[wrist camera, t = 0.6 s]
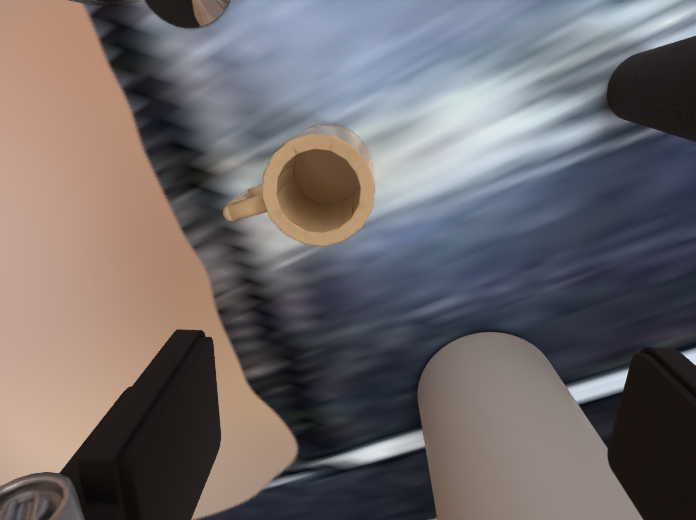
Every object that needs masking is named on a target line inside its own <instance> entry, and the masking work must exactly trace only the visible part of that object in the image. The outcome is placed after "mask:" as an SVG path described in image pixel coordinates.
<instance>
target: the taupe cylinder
mask: <svg viewBox="0 0 696 520" xmlns="http://www.w3.org/2000/svg"><path fill="white" fill-rule="evenodd" d="M418 405H419V411H420V417H421V423H422V429H423V435H424V441H425V447H426V453H427V459H428V465H429V471H430V477H431V483H432V489H433V495H434V501H435V507H436V513H437V519H438V520H643V519H642V517H641V515H640V514H639V512H638V511H637V509H636V508H635V506H634V504H633V503H632V501H631V500H630V498H629V497H628V495H627V494H626V492H625V490H624V489H623V487H622V486H621V484H620V483H619V481H618V479H617V478H616V476H615V475H614V473H613V472H612V470H611V468H610V466H609V463H608V458H607V452H608V449H607V447H606V446H605V444H604V443H603V441H602V440H601V438H600V437H599V435H598V434H597V432H596V431H595V429H594V428H593V426H592V425H591V423H590V422H589V420H588V419H587V417H586V416H585V414H584V413H583V411H582V410H581V408H580V407H579V405H578V404H577V403H576V401H575V400H574V398H573V397H572V395H571V394H570V392H569V391H568V389H567V388H566V386H565V385H564V383H563V382H562V380H561V379H560V377H559V376H558V374H557V373H556V371H555V370H554V368H553V367H552V365H551V364H550V362H549V361H548V359H547V358H546V357H545V356H544V354H543V353H542V352H541V351H540V350H539V349H537V348H536V347H535V346H534V345H532V344H531V343H529V342H527V341H526V340H524V339H522V338H519V337H516V336H513V335H510V334H506V333H499V332H483V333H476V334H471V335H467V336H464V337H461V338H459V339H457V340H455V341H453V342H451V343H449V344H448V345H446V346H445V347H443V348H442V349H441V350H439V351H438V352H437V353H436V354H435V355H434V356H433V357H432V358H431V360H430V361H429V362H428V364H427V365H426V367H425V369H424V370H423V373H422V375H421V378H420V381H419V385H418Z"/></svg>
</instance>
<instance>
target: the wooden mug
mask: <svg viewBox="0 0 696 520" xmlns="http://www.w3.org/2000/svg"><path fill="white" fill-rule="evenodd" d="M374 193H375V182H374V171H373V164H372V161H371V156H370V153H369V151H368V149H367V147H366V145H365V144H364V142H363V141H362V140H361V139H360V138H359V137H358V136H357V135H356V134H355V133H353V132H352V131H350V130H348V129H346V128H344V127H341V126H338V125H332V124H324V125H318V126H314V127H312V128H309V129H306V130H304V131H303V132H301V133H300V134H298V135H297V136H295V137H294V138H292V139H291V140H289V141H288V142H287V143H286V144H285V145H283V146H282V147H281V148H280V149H279V150H278V151H276V152H275V153H274V154H273V156H272V157H271V159H270V161H269V163H268V166H267V168H266V170H265V172H264V175H263V185H260V186H257V187H253V188H250V189H246V190H244V191H243V192H242V193H241V194H239V195H238V196H237V197H236V198H235V199H233V200H232V201H231V202H230V203H229V204H227V205H226V206H225V207H224V209H223V215H224V217H225V219H227V220H228V221H237V220H240V219H244V218H247V217H251V216H254V215H258V214H261V213H264V212H268V214H269V217H270V219H271V220H272V221H273V222H274V223H275V224H276V226H277V227H278V228H279V229H280V230H281V231H282V232H283V233H284V234H285V235H287V236H289V237H291V238H293V239H295V240H297V241H299V242H301V243H304V244H310V245H319V246H324V245H325V246H327V245H330V244H334V243H338V242H341V241H344V240H346V239H347V238H349V237H350V236H351V235H353V234H354V233H355V232H357V231H358V230H359V229H361V227H362V226H363V225H364V223H365V221H366V219H367V218H368V216H369V214H370V213H371V211H372V208H373V201H374Z"/></svg>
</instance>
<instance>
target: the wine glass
mask: <svg viewBox="0 0 696 520" xmlns="http://www.w3.org/2000/svg"><path fill="white" fill-rule="evenodd" d="M70 1H75V2H79V3H84V4H89V5H94V6H125V5H129V4H134V3H139V2H142V1H144V0H70ZM145 1H146V2H147V4H148V6H149V7H150V8H151V9H152V10H153V11H154V13H156V14H157V15H158V16H159V17H160V18H161V19H163V20H165V21H166V22H168V23H169V24H172V25H175V26H177V27H182V28H199V27H203V26H206V25H208V24H210V23H212V22H213V21H215V20H216V19H217V18H218V17H219V16H220V15H221V14H222V13H223V12H224V11H225V9H226V8H227V6H228V4H229V2H230V0H145Z"/></svg>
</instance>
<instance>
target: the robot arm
mask: <svg viewBox="0 0 696 520" xmlns="http://www.w3.org/2000/svg"><path fill="white" fill-rule="evenodd" d="M214 359H215V357H214V345H213V340H212V338H211V337H205V334H204V332H203V331H202V330H176V331H175V332H174V333H173V334H172V336H171V337H170V338H169V339H168V341H167V342H166V343H165V345H164V346H163V347H162V349H161V350H160V351H159V353H158V354H157V355H156V356H155V358H154V359H153V360H152V361H151V363H150V364H149V365H148V366H147V368H146V369H145V370H144V372H143V373H142V374H141V375H140V377H139V378H138V379H137V381H136V382H135V383H134V385H133V386H132V387H128V388H127V389H126V390H125V391H124V392H123V393H122V395H121V396H120V397H119V398H118V400H117V401H116V402H115V403H114V405H113V406H112V407H111V408H110V410H109V411H108V412H107V414H106V415H105V416H104V417H103V419H102V420H101V421H100V422H99V424H98V425H97V426H96V428H95V429H94V430H93V431H92V433H91V434H90V435H89V436H88V438H87V439H86V440H85V441H84V443H83V444H82V445H81V447H80V448H79V449H78V450H77V452H76V453H75V454H74V455H73V457H72V458H71V459H70V460H69V462H68V463H67V464H66V466H65V467H64V468H63V469H62V471H61V472H60V473H51V472H43V473H35V474H30V475H27V476H23V477H20V478H17V479H14V480H12V481H10V482H8V483H6V484H4V485H2V486H0V520H191V518H192V516H193V513H194V511H195V508H196V506H197V503H198V501H199V499H200V496H201V494H202V491H203V488H204V486H205V483H206V481H207V479H208V476H209V474H210V471H211V468H212V466H213V464H214V461H215V459H216V456H217V453H218V451H219V447H220V442H221V429H220V417H219V406H218V393H217V381H216V369H215V360H214ZM607 458H608V463H609V466H610V468H611V470H612V472H613V473H614V475H615V476H616V478H617V479H618V481H619V483H620V484H621V486H622V487H623V489H624V490H625V492H626V494H627V495H628V497H629V498H630V500H631V501H632V503H633V504H634V506H635V508H636V509H637V511H638V512H639V514H640V515H641V517H642V519H643V520H696V365H694V364H693V363H692V362H691V361H690V360H688V359H687V358H686V357H685V356H684V355H683V354H681V353H680V352H679V351H678V350H676V349H674V348H654V347H645V348H643V349H642V350H641V351H640V353H637V354H635V355H634V356H633V357H632V360H631V364H630V367H629V371H628V375H627V379H626V383H625V386H624V390H623V394H622V398H621V402H620V405H619V409H618V413H617V417H616V421H615V424H614V428H613V432H612V436H611V440H610V443H609V447H608V452H607Z"/></svg>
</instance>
